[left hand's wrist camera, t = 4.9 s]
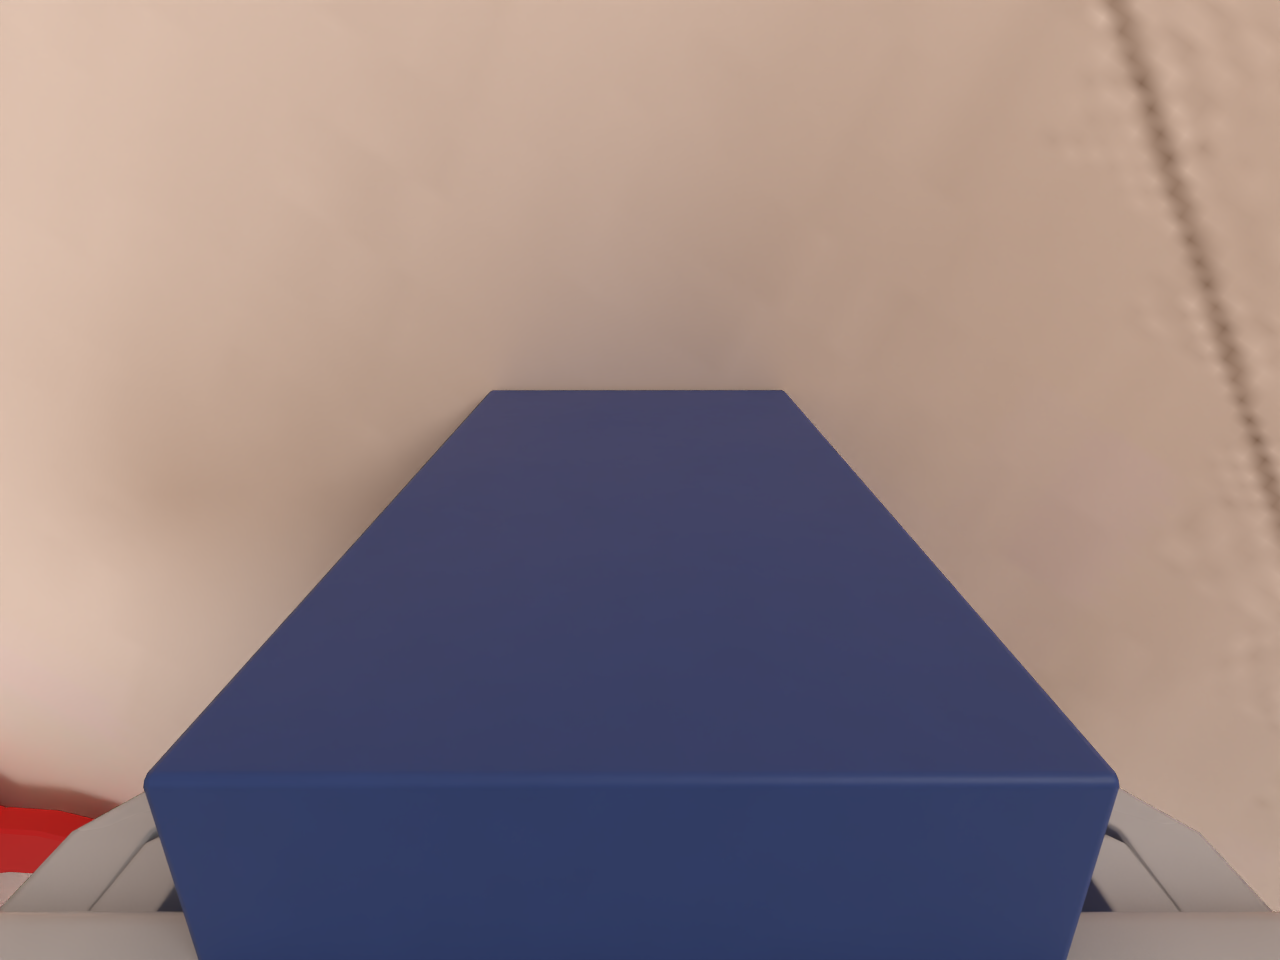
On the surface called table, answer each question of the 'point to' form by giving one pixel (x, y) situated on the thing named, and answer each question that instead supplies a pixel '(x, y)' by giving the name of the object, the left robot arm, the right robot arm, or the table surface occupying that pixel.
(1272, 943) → the left robot arm
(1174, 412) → the table surface
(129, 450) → the table surface
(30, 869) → the tow hook
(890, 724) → the box
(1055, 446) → the table surface
